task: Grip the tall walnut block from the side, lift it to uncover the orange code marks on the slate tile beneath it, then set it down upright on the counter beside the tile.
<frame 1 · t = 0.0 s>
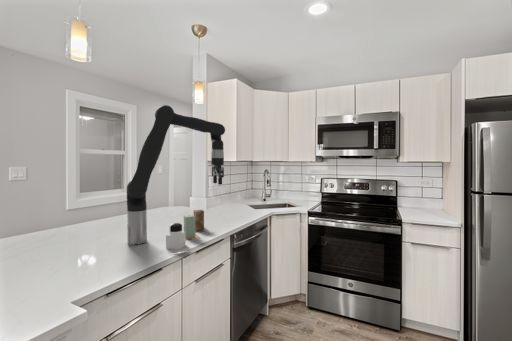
hand: (217, 183, 157), 29 cm above the counter, tool pointing down, fingers open, 8 cm apart
sage block: (189, 237, 143), point 1 cm above the counter, touching oak code tile
medicine bottle: (175, 248, 128), on the counter
walnut block: (198, 229, 158), point 1 cm above the counter, touching slate code tile
slate code tile: (198, 230, 158), on the counter
oak code tile: (189, 238, 143), on the counter
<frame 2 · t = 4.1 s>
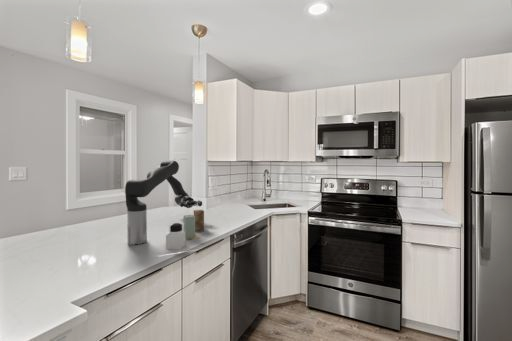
hand: (193, 205, 167), 14 cm above the counter, tool horizontal, fingers open, 8 cm apart
nothing on the counter moved.
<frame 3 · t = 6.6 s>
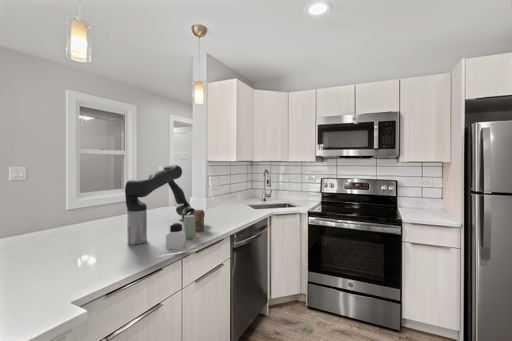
hand: (196, 217, 162), 8 cm above the counter, tool horizontal, fingers open, 8 cm apart
nothing on the counter moved.
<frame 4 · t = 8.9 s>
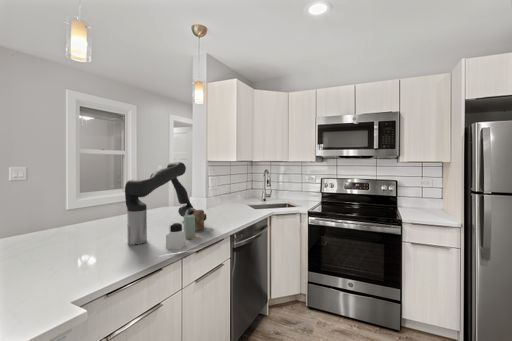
hand: (200, 219, 156), 8 cm above the counter, tool horizontal, fingers closed on walnut block, 5 cm apart
walnut block: (198, 229, 158), point 1 cm above the counter, touching gripper, slate code tile
everything else where it was.
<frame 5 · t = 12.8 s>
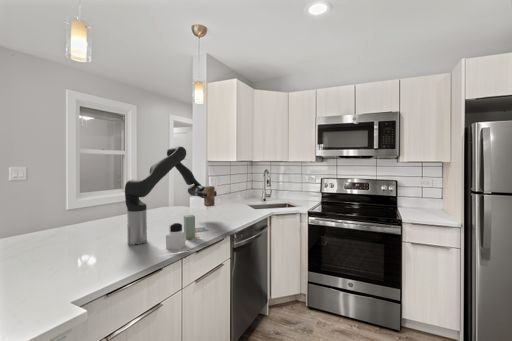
hand: (210, 195, 159), 22 cm above the counter, tool horizontal, fingers closed on walnut block, 5 cm apart
walnut block: (209, 205, 161), point 15 cm above the counter, touching gripper
everything else where it was.
when the fingers open (8 cm above the counter, at t = 16.7 s): walnut block drops 1 cm, on the counter.
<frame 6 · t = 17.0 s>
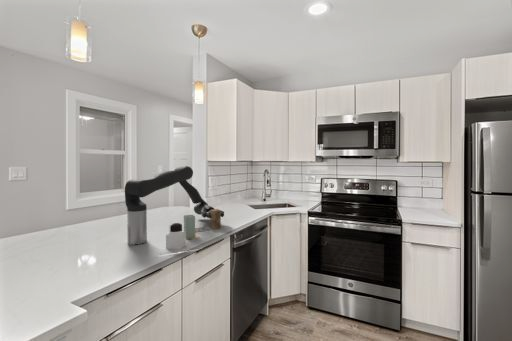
hand: (216, 216, 162), 9 cm above the counter, tool horizontal, fingers open, 7 cm apart
walnut block: (215, 228, 164), on the counter
everything else where it was.
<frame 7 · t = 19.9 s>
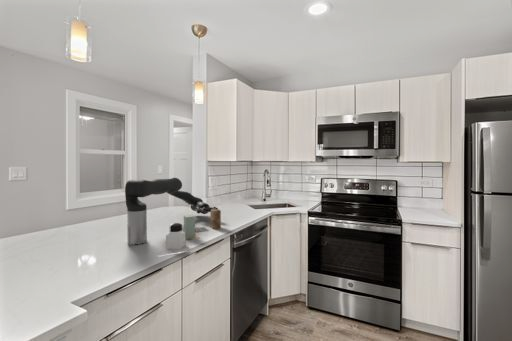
hand: (210, 211, 173), 9 cm above the counter, tool horizontal, fingers open, 8 cm apart
nothing on the counter moved.
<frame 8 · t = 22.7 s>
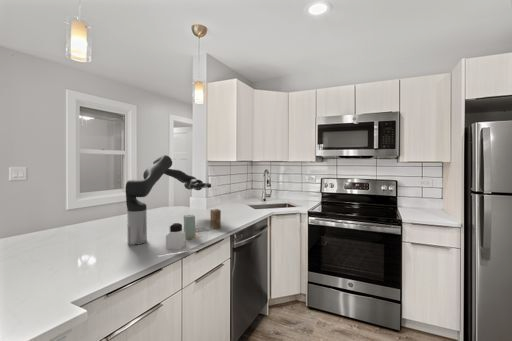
hand: (203, 186, 171), 26 cm above the counter, tool horizontal, fingers open, 8 cm apart
nothing on the counter moved.
at the end: walnut block inside the target area (0.1 cm from its centre), on the counter; walnut block tilted 0°; sage block moved 0.0 cm from its start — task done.
